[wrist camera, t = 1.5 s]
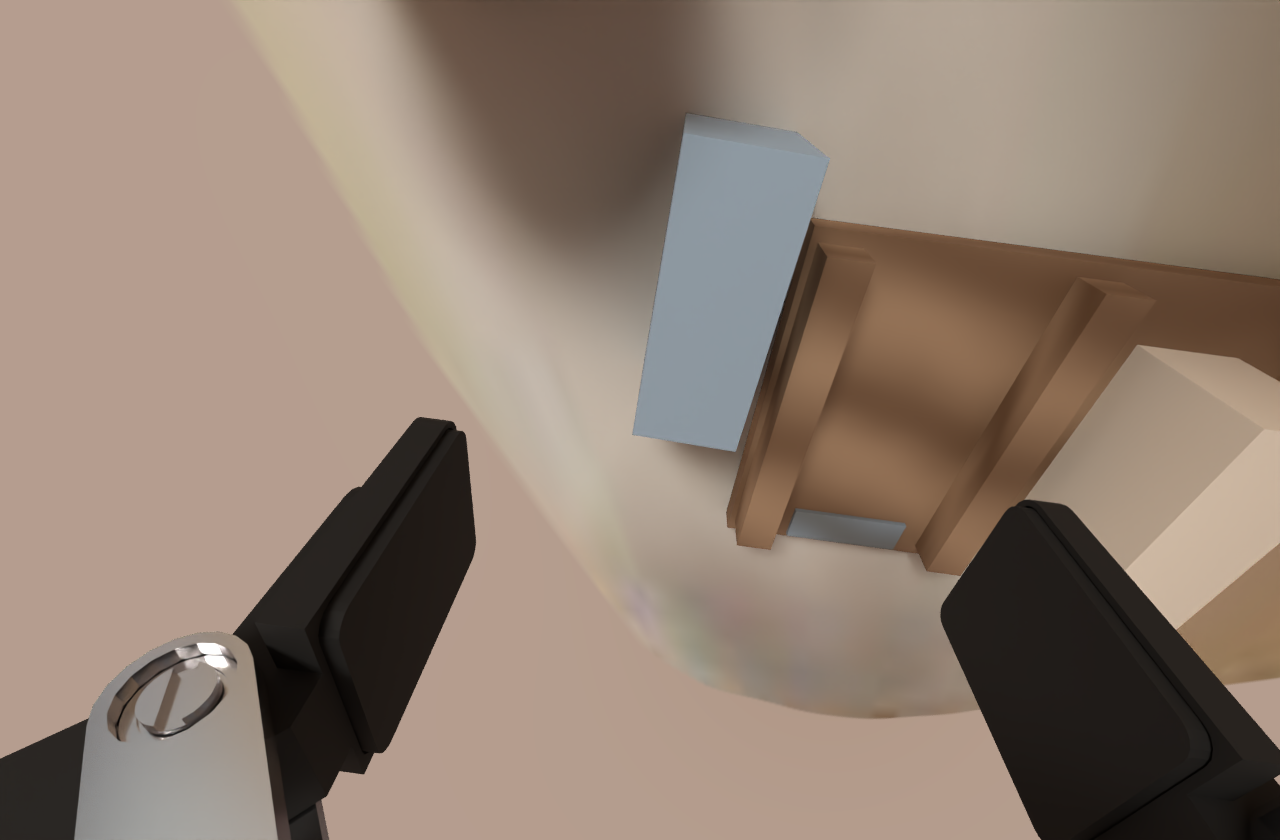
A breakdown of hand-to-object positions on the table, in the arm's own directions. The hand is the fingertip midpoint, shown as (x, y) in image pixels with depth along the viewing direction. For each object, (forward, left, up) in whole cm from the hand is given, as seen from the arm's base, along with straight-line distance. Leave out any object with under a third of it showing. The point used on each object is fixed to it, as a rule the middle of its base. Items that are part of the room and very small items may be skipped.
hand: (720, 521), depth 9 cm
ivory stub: (+4, +17, -11) cm, 21 cm away
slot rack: (+4, +13, -12) cm, 18 cm away
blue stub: (-1, 0, -12) cm, 12 cm away
